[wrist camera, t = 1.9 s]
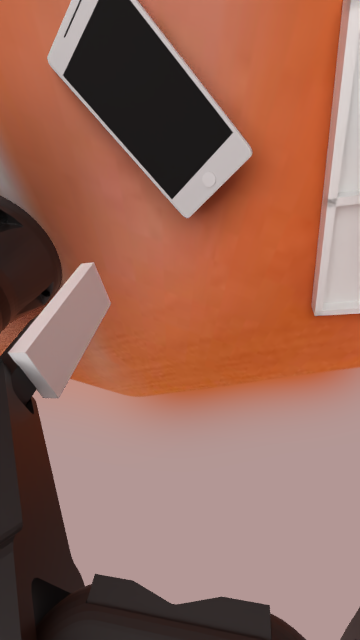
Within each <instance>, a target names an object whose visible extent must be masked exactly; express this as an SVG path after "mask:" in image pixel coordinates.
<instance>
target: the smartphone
mask: <svg viewBox="0 0 360 640" xmlns="http://www.w3.org/2000/svg"><path fill="white" fill-rule="evenodd" d="M47 59H48V62H49V64H50V66H51V67H52V69H53V70H54V71H55V72H56V73H57V74H58V75H59V77H60V78H61V79H62V80H63V81H64V82H65V83H66V84H67V86H68V87H69V88H70V89H71V90H72V91H73V92H74V93H75V95H76V96H77V97H78V98H79V99H80V100H81V101H82V103H83V104H84V105H85V106H86V107H87V108H88V109H89V110H90V112H91V113H92V114H93V115H94V116H95V117H96V118H97V120H98V121H99V122H100V123H101V124H102V125H103V126H104V127H105V129H106V130H107V131H108V132H109V133H110V134H111V135H112V136H113V138H114V139H115V140H116V141H117V142H118V143H119V144H120V146H121V147H122V148H123V149H124V150H125V151H126V152H127V153H128V155H129V156H130V157H131V158H132V159H133V160H134V161H135V162H136V164H137V165H138V166H139V167H140V168H141V169H142V170H143V172H144V173H145V174H146V175H147V176H148V177H149V178H150V179H151V181H152V182H153V183H154V184H155V185H156V186H157V187H158V189H159V190H160V191H161V192H162V193H163V194H164V195H165V196H166V198H167V199H168V200H169V201H170V202H171V203H172V204H173V205H174V207H175V208H176V209H177V210H178V211H179V212H180V213H181V214H182V215H183V216H184V217H185V218H189V217H191V216H192V215H193V214H194V213H195V212H196V211H197V210H198V209H199V208H200V207H201V206H202V205H203V204H204V203H205V202H206V201H207V200H208V199H209V198H210V197H211V196H212V195H213V194H214V193H215V192H216V191H217V190H218V189H219V188H220V187H221V186H222V185H223V184H224V183H225V182H226V181H227V180H228V179H229V178H230V177H231V176H232V175H233V174H234V173H235V172H236V171H237V170H238V169H239V168H240V167H241V166H242V165H243V164H244V163H245V162H246V161H247V160H248V159H249V158H250V157H251V156H252V154H253V153H252V149H251V147H250V145H249V144H248V142H247V141H246V140H245V138H244V137H243V136H242V135H241V133H240V132H239V131H238V129H237V128H236V127H235V126H234V124H233V123H232V122H231V120H230V119H229V118H228V116H227V115H226V114H225V113H224V111H223V110H222V109H221V107H220V106H219V105H218V104H217V102H216V101H215V100H214V98H213V97H212V96H211V95H210V93H209V92H208V91H207V89H206V88H205V87H204V85H203V84H202V83H201V82H200V80H199V79H198V78H197V76H196V75H195V74H194V73H193V71H192V70H191V69H190V67H189V66H188V65H187V64H186V62H185V61H184V60H183V58H182V57H181V56H180V54H179V53H178V52H177V51H176V49H175V48H174V47H173V45H172V44H171V43H170V42H169V40H168V39H167V38H166V36H165V35H164V34H163V32H162V31H161V30H160V29H159V27H158V26H157V25H156V23H155V22H154V21H153V20H152V18H151V17H150V16H149V14H148V13H147V12H146V11H145V9H144V8H143V7H142V5H141V4H140V3H139V1H138V0H71V3H70V5H69V7H68V10H67V12H66V14H65V17H64V19H63V21H62V24H61V26H60V28H59V31H58V33H57V35H56V38H55V40H54V42H53V45H52V47H51V49H50V52H49V54H48V57H47Z"/></svg>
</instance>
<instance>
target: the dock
mask: <svg viewBox="0 0 360 640" xmlns="http://www.w3.org/2000/svg"><path fill="white" fill-rule="evenodd" d="M311 306H312V309H313V313H314V316H321V315H340V314H359V313H360V0H343V6H342V16H341V26H340V35H339V45H338V54H337V64H336V74H335V83H334V93H333V102H332V112H331V122H330V131H329V141H328V151H327V160H326V170H325V179H324V189H323V199H322V208H321V218H320V227H319V237H318V247H317V256H316V266H315V275H314V285H313V295H312V304H311Z"/></svg>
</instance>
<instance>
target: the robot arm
mask: <svg viewBox="0 0 360 640" xmlns="http://www.w3.org/2000/svg"><path fill="white" fill-rule="evenodd" d="M61 278H62V269H61V263H60V259H59V256H58V254H57V251H56V249H55V247H54V245H53V243H52V241H51V240H50V238H49V237H48V235H47V234H46V232H45V231H44V230H43V229H42V227H41V226H40V225H39V224H38V223H37V222H36V221H35V220H34V219H33V218H32V217H31V216H30V215H29V214H28V213H26V212H25V211H24V210H23V209H21V208H20V207H19V206H17V205H16V204H14V203H13V202H11V201H9V200H8V199H6V198H4V197H2V196H0V333H1V332H2V331H3V329H4V328H5V327H6V326H7V325H8V324H9V323H11V322H13V321H15V320H17V319H19V318H21V317H22V316H24V315H26V314H28V313H30V312H32V311H34V310H36V309H38V308H40V307H42V306H43V305H45V304H46V303H47V302H48V301H49V300H50V299H51V298H52V297H53V296H54V295H55V293H56V292H57V290H58V289H59V286H60V283H61ZM110 305H111V302H110V300H109V297H108V295H107V292H106V290H105V288H104V285H103V283H102V280H101V278H100V276H99V273H98V271H97V269H96V266H95V264H94V262H92V263H83V264H80V266H79V267H78V268H77V269H76V271H75V272H74V273H73V274H72V275H71V277H70V278H69V279H68V280H67V281H66V283H65V284H64V285H63V286H62V288H61V289H60V290H59V291H58V292H57V294H56V295H55V296H54V297H53V299H52V300H51V301H50V302H49V303H48V305H47V306H46V307H45V308H44V309H43V311H42V312H41V313H40V314H39V315H38V316H36V317H35V318H34V319H32V320H31V321H30V322H29V323H28V324H27V325H26V326H25V328H24V329H23V331H21V332H20V333H19V335H18V337H16V338H15V339H14V341H13V342H12V343H11V344H10V345H9V347H8V348H7V349H6V350H5V351H4V353H3V354H2V355H1V356H0V640H306V639H305V638H304V637H302V635H301V634H299V633H298V632H297V631H296V630H295V629H294V628H292V627H291V626H290V625H288V624H287V623H286V622H284V621H283V620H282V619H280V618H278V617H276V616H274V615H272V614H270V606H269V605H264V604H259V603H254V602H248V601H243V600H237V599H232V598H226V597H218V598H212V599H207V600H201V601H195V602H190V603H184V604H177V605H175V604H171V603H169V602H167V601H166V600H164V599H162V598H161V597H159V596H157V595H156V594H154V593H153V592H151V591H149V590H147V589H146V588H144V587H143V586H141V585H139V584H138V583H136V582H134V581H132V580H126V579H120V578H114V577H109V576H103V575H98V574H95V576H94V579H93V582H92V584H91V585H88V586H85V585H84V582H83V580H82V577H81V575H80V573H79V571H78V569H77V568H76V566H75V564H74V562H73V560H72V557H71V553H70V549H69V545H68V540H67V536H66V532H65V527H64V523H63V518H62V515H61V510H60V505H59V501H58V497H57V492H56V488H55V483H54V479H53V474H52V470H51V466H50V461H49V457H48V453H47V448H46V444H45V439H44V435H43V430H42V426H41V422H40V417H39V413H38V408H37V404H36V401H35V399H34V398H33V397H32V395H33V394H34V392H35V391H36V389H37V391H38V392H39V393H40V394H41V396H42V397H43V398H59V397H60V395H61V393H62V392H63V390H64V388H65V386H66V384H67V383H68V381H69V379H70V377H71V375H72V374H73V372H74V370H75V368H76V366H77V365H78V363H79V361H80V359H81V357H82V356H83V354H84V352H85V350H86V348H87V347H88V345H89V343H90V341H91V339H92V337H93V336H94V334H95V332H96V330H97V328H98V327H99V325H100V323H101V321H102V319H103V318H104V316H105V314H106V312H107V310H108V309H109V307H110ZM341 640H360V608H359V609H358V611H357V613H356V614H355V616H354V618H353V619H352V620H351V622H350V623H349V625H348V627H347V629H346V630H345V632H344V634H343V636H342V637H341Z"/></svg>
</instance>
